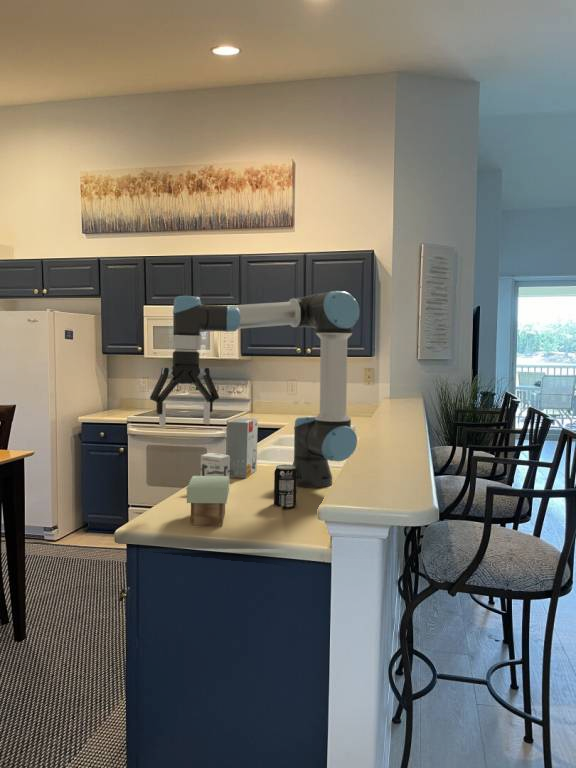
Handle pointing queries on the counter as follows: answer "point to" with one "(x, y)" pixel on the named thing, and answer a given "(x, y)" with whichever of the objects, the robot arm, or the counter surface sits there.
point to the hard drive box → (242, 446)
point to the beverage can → (285, 486)
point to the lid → (208, 489)
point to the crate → (207, 514)
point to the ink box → (215, 465)
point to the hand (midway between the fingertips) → (184, 424)
